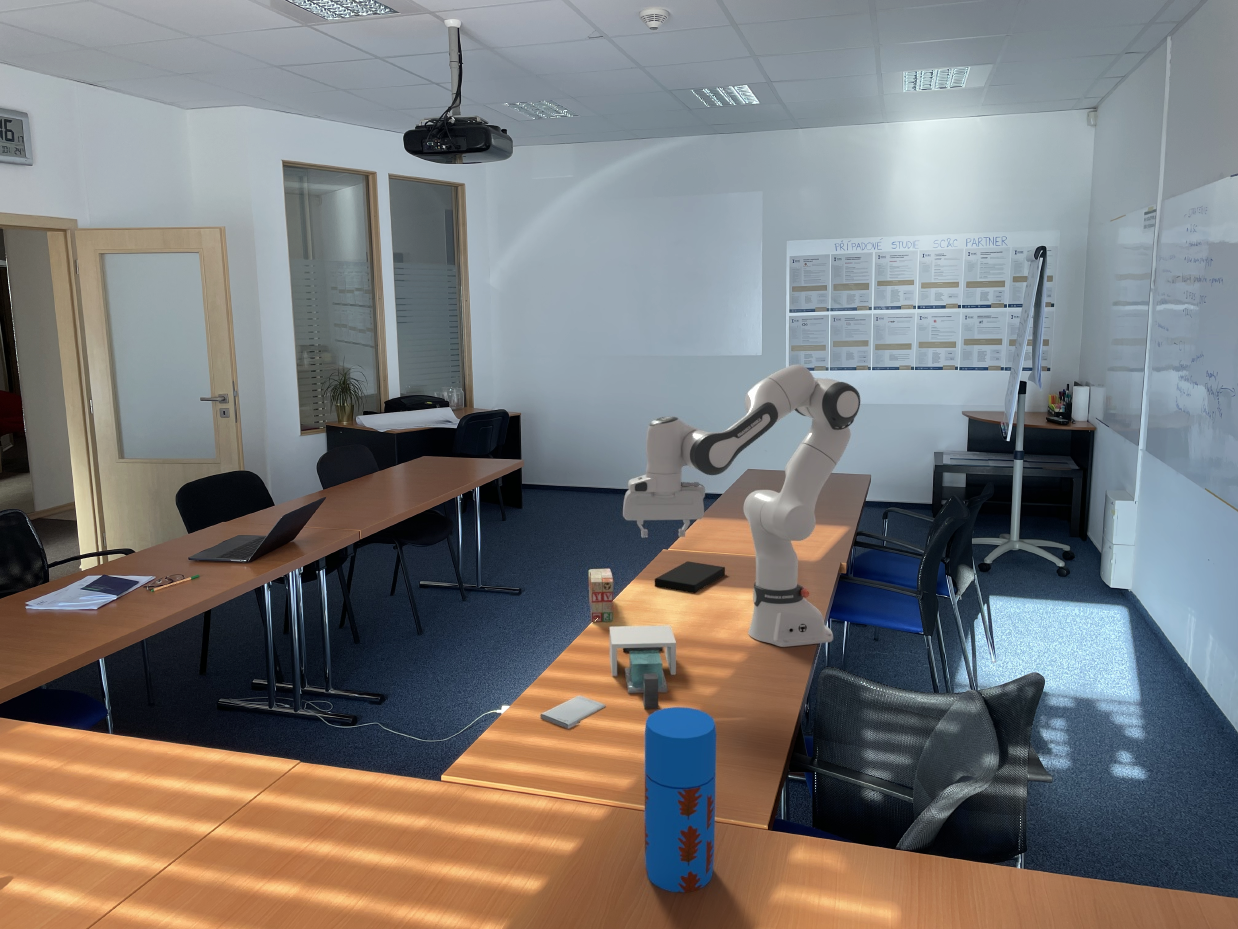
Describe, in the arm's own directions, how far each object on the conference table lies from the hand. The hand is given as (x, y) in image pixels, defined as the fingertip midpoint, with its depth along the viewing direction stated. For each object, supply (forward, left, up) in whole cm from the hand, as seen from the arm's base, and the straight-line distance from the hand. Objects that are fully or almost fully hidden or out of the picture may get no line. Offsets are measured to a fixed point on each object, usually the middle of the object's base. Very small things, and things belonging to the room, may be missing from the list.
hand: (663, 536), depth 221 cm
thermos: (+7, +89, -31) cm, 95 cm away
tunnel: (+6, +8, -31) cm, 33 cm away
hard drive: (+23, +32, -32) cm, 51 cm away
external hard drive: (-16, -63, -32) cm, 72 cm away
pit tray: (+5, -4, -31) cm, 32 cm away
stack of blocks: (+14, -36, -32) cm, 50 cm away
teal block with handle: (+6, +22, -31) cm, 38 cm away
